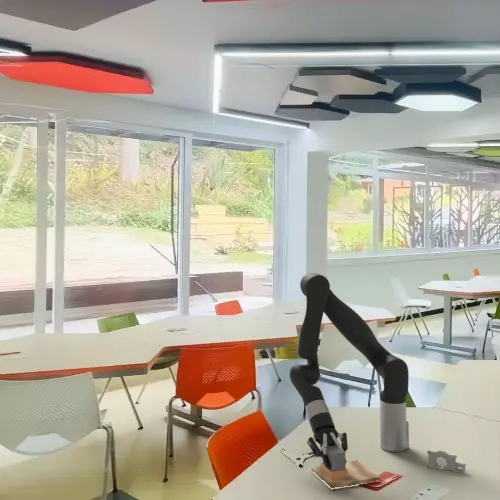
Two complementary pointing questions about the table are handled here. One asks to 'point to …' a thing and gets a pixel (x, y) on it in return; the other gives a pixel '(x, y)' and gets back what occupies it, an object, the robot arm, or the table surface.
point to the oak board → (349, 475)
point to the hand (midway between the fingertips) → (336, 466)
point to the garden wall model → (448, 458)
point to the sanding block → (335, 463)
